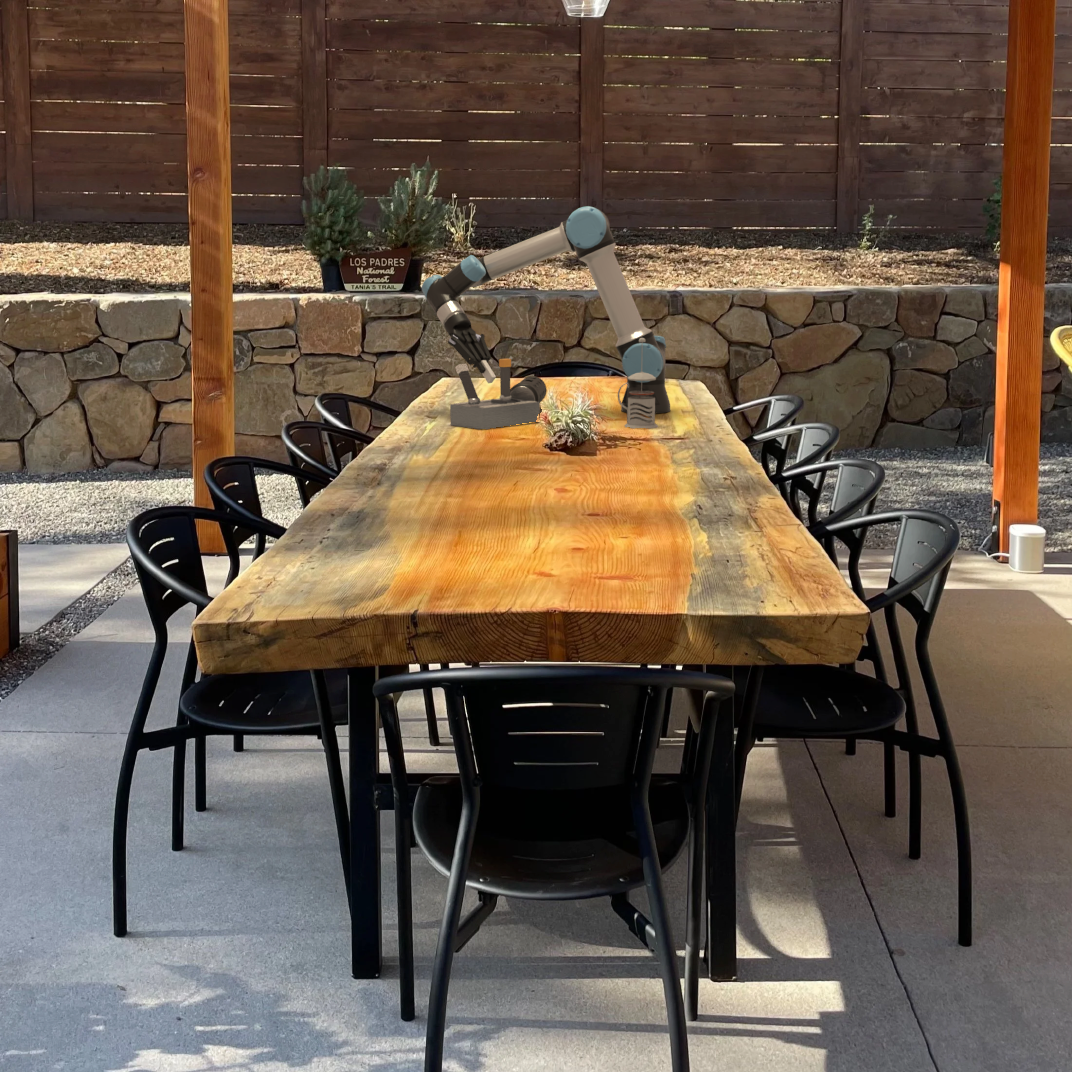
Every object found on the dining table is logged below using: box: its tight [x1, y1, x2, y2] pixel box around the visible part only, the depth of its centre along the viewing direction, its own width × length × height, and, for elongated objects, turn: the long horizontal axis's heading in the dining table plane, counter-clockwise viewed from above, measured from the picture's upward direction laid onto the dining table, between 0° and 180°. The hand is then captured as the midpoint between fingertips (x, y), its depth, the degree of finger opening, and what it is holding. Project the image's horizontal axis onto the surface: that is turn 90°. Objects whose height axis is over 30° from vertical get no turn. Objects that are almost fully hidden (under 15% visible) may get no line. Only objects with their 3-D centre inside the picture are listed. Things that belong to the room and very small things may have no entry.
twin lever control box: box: [449, 363, 541, 430], centre depth 391 cm, size 22×14×18 cm, turn 133°
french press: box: [617, 338, 659, 430], centre depth 384 cm, size 10×12×25 cm
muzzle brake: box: [510, 375, 548, 403], centre depth 418 cm, size 10×28×10 cm, turn 174°
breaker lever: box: [498, 358, 512, 401], centre depth 393 cm, size 3×2×12 cm, turn 133°
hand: (492, 380), depth 397 cm, fingers closed
